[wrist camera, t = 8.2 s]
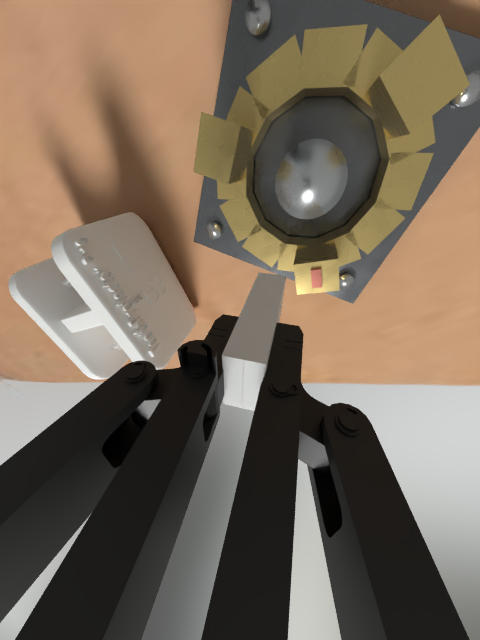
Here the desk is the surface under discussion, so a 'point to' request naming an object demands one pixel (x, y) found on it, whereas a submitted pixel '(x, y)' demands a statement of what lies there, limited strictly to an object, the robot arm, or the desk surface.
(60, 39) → the desk surface
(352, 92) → the ring nut
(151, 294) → the cable organizer
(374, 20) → the flange
